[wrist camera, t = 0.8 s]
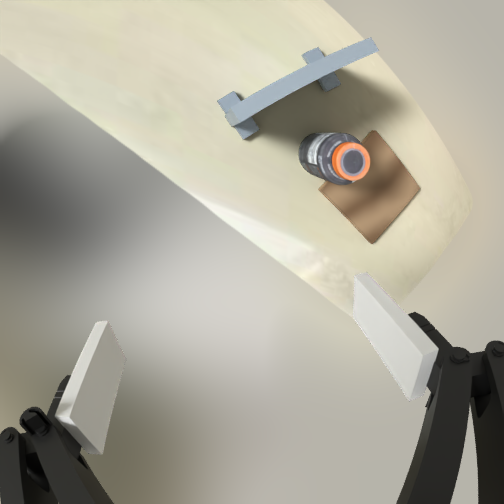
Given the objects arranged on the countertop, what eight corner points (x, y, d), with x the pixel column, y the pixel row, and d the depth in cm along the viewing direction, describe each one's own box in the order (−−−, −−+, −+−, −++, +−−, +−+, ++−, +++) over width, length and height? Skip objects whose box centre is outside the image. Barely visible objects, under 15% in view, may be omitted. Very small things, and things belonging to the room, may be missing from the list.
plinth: (318, 189, 41) (321, 191, 40) (371, 130, 39) (375, 130, 37) (368, 241, 45) (372, 244, 44) (415, 186, 43) (420, 188, 41)
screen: (240, 140, 37) (254, 143, 25) (215, 102, 35) (216, 87, 23) (340, 84, 36) (389, 69, 24) (317, 48, 33) (359, 19, 21)
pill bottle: (344, 164, 40) (386, 176, 30) (308, 182, 41) (341, 200, 30) (327, 125, 38) (366, 125, 27) (290, 143, 38) (318, 147, 28)
